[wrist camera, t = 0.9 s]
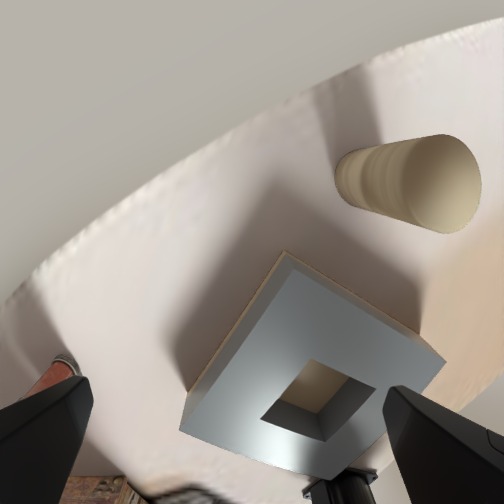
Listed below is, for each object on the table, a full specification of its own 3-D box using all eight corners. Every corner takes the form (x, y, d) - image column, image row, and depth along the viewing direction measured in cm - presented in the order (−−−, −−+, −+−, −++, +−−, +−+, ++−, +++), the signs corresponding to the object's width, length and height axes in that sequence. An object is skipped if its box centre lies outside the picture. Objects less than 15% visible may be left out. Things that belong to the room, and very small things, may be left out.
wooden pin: (397, 172, 20) (492, 175, 11) (369, 219, 21) (454, 251, 11) (353, 138, 20) (434, 114, 10) (323, 186, 20) (389, 195, 11)
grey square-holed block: (419, 335, 23) (446, 361, 19) (321, 446, 26) (330, 480, 21) (283, 250, 21) (294, 268, 17) (187, 393, 24) (178, 430, 19)
